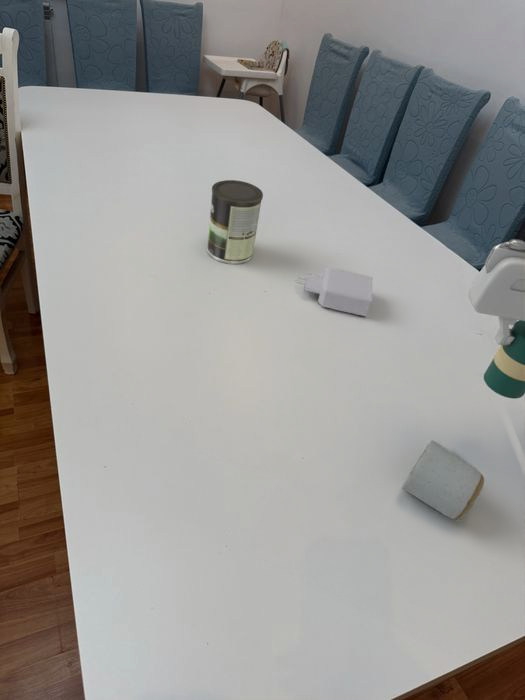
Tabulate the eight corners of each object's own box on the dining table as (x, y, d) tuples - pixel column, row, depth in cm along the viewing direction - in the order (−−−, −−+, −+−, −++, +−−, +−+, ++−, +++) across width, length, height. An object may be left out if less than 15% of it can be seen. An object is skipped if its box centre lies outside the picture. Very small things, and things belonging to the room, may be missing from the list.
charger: (296, 277, 105) (366, 293, 104) (290, 301, 98) (365, 318, 97) (300, 258, 102) (372, 274, 101) (295, 281, 95) (372, 299, 94)
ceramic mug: (453, 534, 63) (480, 500, 58) (395, 498, 66) (415, 462, 61) (475, 481, 71) (500, 446, 66) (421, 450, 73) (441, 415, 69)
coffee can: (200, 257, 105) (205, 194, 96) (214, 236, 113) (219, 175, 104) (247, 269, 104) (257, 206, 95) (257, 246, 112) (267, 186, 103)
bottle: (517, 373, 70) (561, 308, 63) (530, 402, 66) (579, 335, 59) (478, 366, 70) (517, 300, 63) (489, 394, 66) (532, 327, 59)
